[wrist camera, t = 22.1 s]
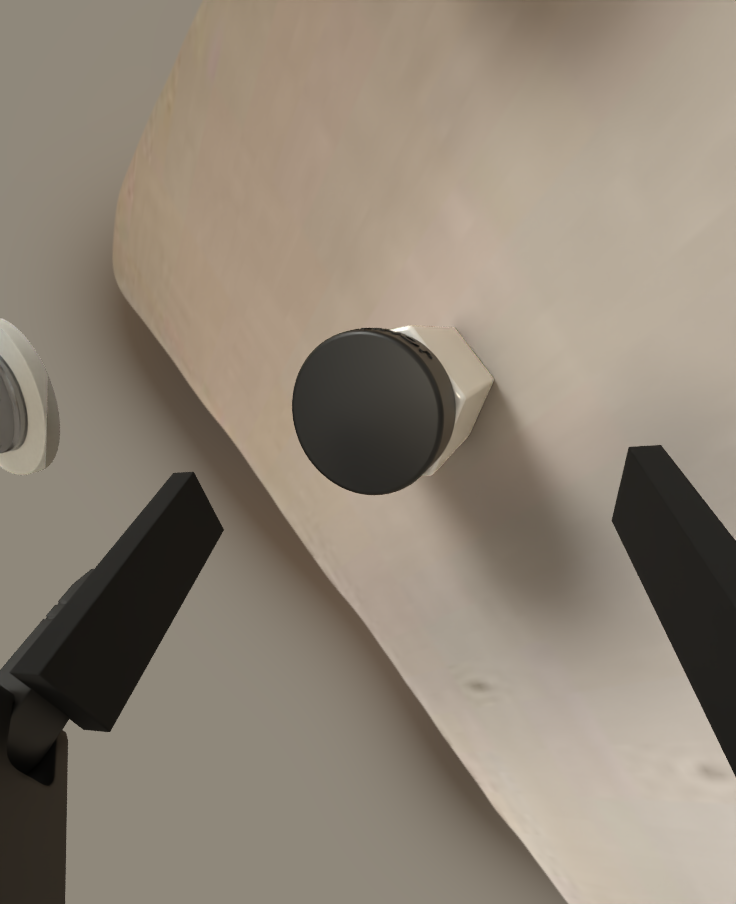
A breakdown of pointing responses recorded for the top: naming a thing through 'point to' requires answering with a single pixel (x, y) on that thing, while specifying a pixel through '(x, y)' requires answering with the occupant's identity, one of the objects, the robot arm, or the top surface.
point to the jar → (387, 404)
